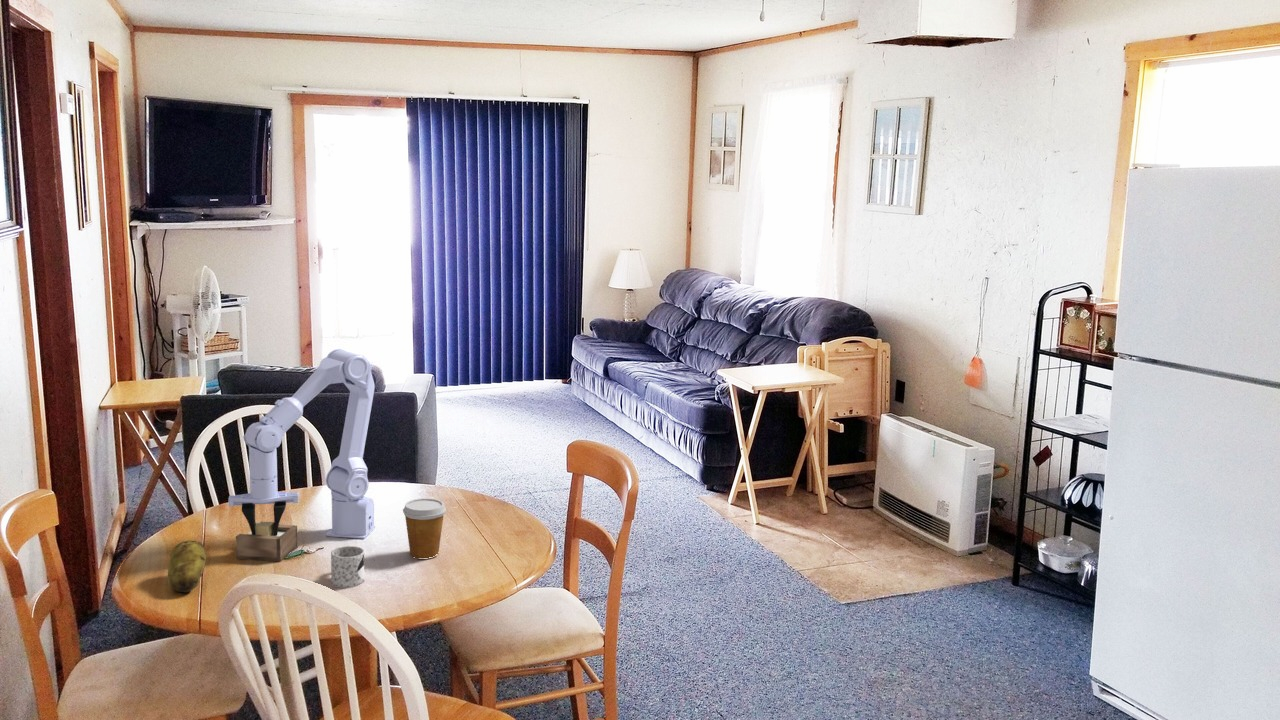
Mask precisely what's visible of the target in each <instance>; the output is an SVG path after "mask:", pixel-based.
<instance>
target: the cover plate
mask: <svg viewBox="0 0 1280 720" xmlns="http://www.w3.org/2000/svg"><path fill="white" fill-rule="evenodd" d="M257 523H258V524H257V525H256V526H255V534H256V535H265V536H274V521H260V522H257ZM285 532H286V531H278V533H277V535H275V536H281V535H282V534H284V533H285ZM247 534H249V535H252V532H251V531H249V532H248V533H247Z"/></svg>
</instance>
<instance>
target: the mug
mask: <svg viewBox="0 0 1280 720" xmlns="http://www.w3.org/2000/svg"><path fill="white" fill-rule="evenodd" d="M330 559H331V560H330V568H331V569H330V570H331V575H330V576H331V585H332V586H333V587H335V586H336V588H339V587H340V588H341V589H350V588H355V587H359V586H360V584H361V585H362V584H364V582H365V550H364V548H363V547H361V546H355V545H354V546H353V545H348V546H347V545H346V546H341V547H336V548H334V549H333V550H331V553H330ZM358 585H359V586H358ZM349 587H350V588H349ZM340 588H339V589H340Z"/></svg>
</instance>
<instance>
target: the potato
mask: <svg viewBox="0 0 1280 720" xmlns="http://www.w3.org/2000/svg"><path fill="white" fill-rule="evenodd" d="M206 561H207V554H206V552H205V547H204V545H203V543H202V542H199V541H197V540H191V539H190V540H185V541H181V542H179V543H178V544H177V545H176V546H175V547H174V548H173V549H172V551H171V553H170V556H169V560H168V565H167V581H168V584H169V586H170V587H171V589H173V590H174V591H177V592H179V593H180V592H181V593H187V592H191V591H192V590H194V589H195V588H196V587H197V586H198V585H199V584H200V579H201V578H202V576H203V574H204V571H205V565H206Z"/></svg>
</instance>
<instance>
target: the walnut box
mask: <svg viewBox="0 0 1280 720" xmlns="http://www.w3.org/2000/svg"><path fill="white" fill-rule="evenodd" d="M258 523H259V522H256V525H257V524H258ZM278 531H286V532H285V533H284V534H282V535H281V536H265V535H249V534H248V533H247V534H246V533H245V534H244V533H239V534H237V535H236V536H235V549H236V550H235V552H236V553H235V554H236V556H235V557H236V560H245V559H255V560H254V561H261V560H262V562H263V561H265V562H276V563H277V562H280V563H281V562H282V561H283V560H285V559H286V558H287V557H288V556H289V555H290V554H291V553H293V552H294V551H295V550H296V549H298V525H291V524H279V525H278ZM292 551H293V552H292ZM290 552H291V553H290ZM289 553H290V554H289ZM288 554H289V555H288ZM287 555H288V556H287ZM286 556H287V557H286Z"/></svg>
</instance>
